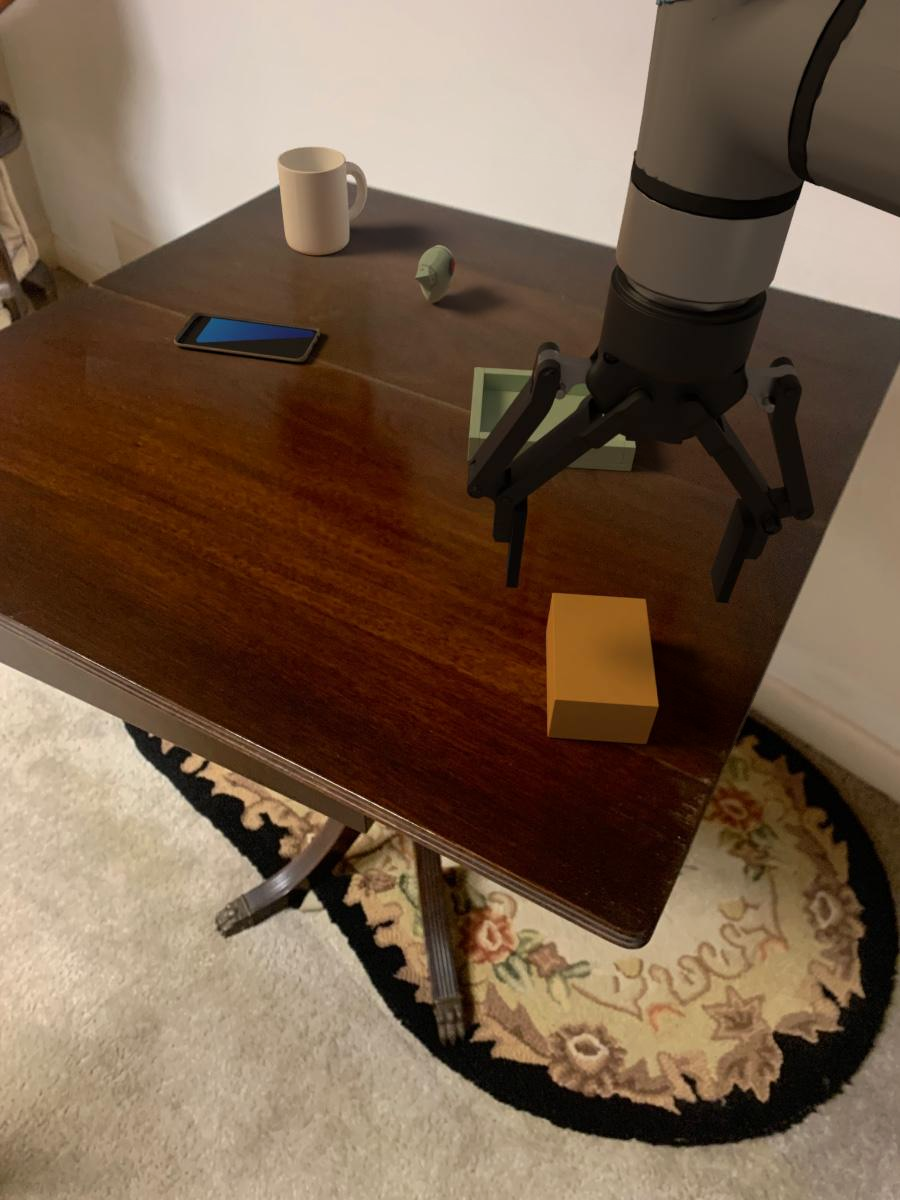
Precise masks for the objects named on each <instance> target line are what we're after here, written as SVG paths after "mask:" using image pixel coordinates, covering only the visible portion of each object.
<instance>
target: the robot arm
mask: <svg viewBox="0 0 900 1200" xmlns="http://www.w3.org/2000/svg"><path fill="white" fill-rule="evenodd" d="M655 5H656V6H657V8H656V16H655V22H654V29H653V37H652V43H651V51H650V56H649V64H648V72H647V78H646V86H645V92H644V100H643V107H642V115H641V119H640V126H639V133H638V138H637V145H636V149H635V151H633V159H632V165H631V169H630V175H629V180H628V185H627V190H626V195H625V199H624V200H625V201H624V206H623V212H622V216H621V223H620V227H619V233H618V239H617V243H616V248H615V261H616V263H617V265H616V266H615V267H614V268H613V270H612V272H611V276H610V280H609V286H608V291H607V297H606V303H605V308H604V314H603V320H602V324H601V325H602V326H601V332H600V337H599V341H598V344H597V346H596V348H595V349H594V350H593V352H592V353H591V354H590V356H589V357H585V356H584V357H583V356H576V355H571V354H565V353H561V348H560V346H559V345H558V344H557V343H555V342H553V341H546V342H542V344H540V345H539V347H538V348H537V352H536V356H535V361H534V364H533V367H532V370H531V371H532V375H531V377H530V379H529V380H528V381H527V383H526V384H525V386H524V387H523V388H522V390H521V391H520V393H519V394H518V395H517V397H516V398H515V399H514V401H513V402H512V404H511V405H510V406H509V408H508V409H507V411H506V412H505V413H504V415H503V416H502V417H501V419H500V420H499V422H498V423H497V424H496V426H495V427H494V429H493V430H492V431H491V433H490V434H489V435H488V437H487V438H486V440H485V441H484V442H483V444H482V445H481V447H480V448H479V449H478V451H477V452H476V453H475V455H474V456H473V458H472V459H471V460H470V461H468V467H467V468H468V469H467V470H468V471H467V481H466V493H467V495H468V496H469V497H470V498H472V499H482V498H484V497H485V498H488V499H489V500H491V501H492V502H493V503H494V511H493V521H492V522H493V523H492V524H493V525H492V538H493V540H494V542H495V543H504V544H505V543H507V544H508V545H507V555H506V569H505V570H506V572H505V573H506V574H505V575H506V577H505V588H507V589H509V588H510V589H518V588H519V580H520V573H521V564H522V558H523V551H524V542H525V534H526V528H527V519H528V508H529V507H528V498H529V496H530V495H532V494H533V493H535V491H537V490H538V489H539V488H541V487H542V486H544V485H545V484H546V483H547V482H549V481H551V480H552V479H553V478H555V476H557V475H558V474H560V473H561V472H562V471H564V470H565V469H566V468H569V467H568V466H569V465H570V464H572V463H573V462H574V461H576V460H577V459H578V458H580V457H581V456H582V455H584V454H585V453H586V452H588V451H589V450H590V449H592V448H595V449H599V448H601V447H602V446H604V445H605V444H606V443H608V442H609V441H610V440H612V439H613V438H614V437H616V436H617V435H618V434H621V435H623V436H625V439H626V441H635V442H636V443H637V442H640V443H641V442H647V441H654V440H655V441H658V442H661V443H665V444H670V445H683V443H684V442H683V441H686V440H689V439H692V438H694V437H695V438H696V439H697V440H698V441H699V443H700V444H701V446H702V447H703V449H704V450H705V452H706V454H707V455H708V456H709V458H710V457H711V458H713V459H714V461H715V463H716V464H717V465H718V466H719V468H720V469H721V471H722V472H723V473H724V475H725V477H726V478H727V479H728V480H729V482H730V484H731V486H733V488H734V489H735V491H736V492H737V494H738V496H739V497H740V498H738V497H736V500H735V502H734V506H733V509H732V511H731V514H730V517H729V520H728V523H727V525H726V528H725V531H724V533H723V536H722V539H721V542H720V545H719V548H718V550H717V553H716V555H715V559H714V561H713V564H712V567H711V570H710V579H711V583H712V589H713V593H714V599H715V603H721V604H722V603H723V604H728V603H729V601H730V598H731V596H732V593H733V591H734V588H735V586H736V584H737V580H738V578H739V575H740V574H741V571H742V568H743V565H744V563H745V560H754V561H756V560H757V559H759V557H760V556H761V555H762V554H763V552H764V550H765V546H766V544H767V542H768V539H769V537H770V536H774V535H777V534H779V533H780V532H781V531H782V529H783V524H782V519H787V518H792V517H793V519H795V520H796V521H800V522H801V521H802V522H803V521H806V520H808V519H810V518H811V517H813V516H814V514H815V508H814V501H813V498H812V493H811V488H810V482H809V479H808V473H807V469H806V463H805V459H804V455H803V449H802V445H801V440H800V435H799V430H798V426H797V420H796V418H797V413H798V409H799V405H800V401H801V398H802V397H801V396H802V393H803V387H802V385H801V382H800V379H799V377H798V374H797V371H796V367H795V366H794V362H793V360H792V359H791V358H790V357H788V356H780V357H777V358H775V359H773V361H771V363H770V365H769V367H746V364H747V362H748V359H749V357H750V353H751V350H752V347H753V344H754V341H755V337H756V334H757V331H758V329H759V325H760V322H761V319H762V315H763V313H764V309H765V306H766V303H767V298H768V297H767V296H768V295H767V291H766V290H768V289H769V287H770V286H771V284H772V283H773V282H774V280H775V278H776V274H777V271H778V268H779V263H780V261H781V258H782V255H783V251H784V247H785V244H786V241H787V238H788V235H789V231H790V227H791V225H792V221H793V218H794V214H795V211H796V207H797V205H798V201H799V199H800V197H801V193H802V190H803V186H804V184H805V182H806V183H809V184H811V185H814V186H815V187H822V188H824V189H827V190H829V191H832V192H834V193H837V194H839V195H842V196H845V197H846V198H850V199H852V200H854V201H857V202H859V203H862V204H865V205H867V206H868V207H869V206H870V207H872V208H875V209H877V210H879V211H882V212H884V213H887V214H889V215H892V216H894V217H897V218H900V0H656V1H655ZM580 383H584V384H586V386H587V389H588V391H589V392H590V394H589V395H588V396H586V397H585V398H584V399H583V400H582V401H581V402H580V404H579V406H578V408H577V409H576V410H575V411H574V412H573V413H572V414H570V415H569V416H568V417H567V418H565V419H564V420H563V421H562V422H560V423H559V424H558V425H557V426H555V427H554V428H553V429H551V430H550V431H549V432H548V433H546V434H545V435H544V436H543V437H541V438H540V439H539V440H538V441H536V442H535V443H534V444H533V445H531V446H530V447H529V448H527V449H526V450H525V451H524V452H522V453H521V454H520V455H519V456H517V457H516V458H515V456H516V455H517V454H518V452H519V451H520V450H521V448H522V447H523V446H524V445H525V443H526V442H527V441H528V439H529V438H530V437H531V435H532V434H533V433H534V432H535V430H536V429H537V428H538V426H539V425H540V424H541V422H542V421H543V420H544V419H545V417H546V416H547V414H548V413H549V411H550V409H551V407H552V405H553V403H554V400H555V398H556V399H563V398H564V397H565V395H566V394H568V393H569V391H570V390H571V388H572V387H573V386H574V385H576V384H580ZM746 395H750V396H752V397H753V398H754V402H755V406H756V407H757V408H758V409H759V410H761V411H764V412H765V413H766V415H767V419H768V424H769V428H770V432H771V436H772V440H773V441H772V442H773V445H774V450H775V453H776V459H777V462H778V467H779V471H780V475H781V479H782V483H783V486H780V487H775V488H772V487H771V485H770V483H769V482H768V481H767V479H766V477H765V476H764V475H763V473H762V472H761V470H760V469H759V467H758V466H757V464H756V462H755V461H754V459H753V457H752V456H751V455H750V453H749V452H748V450H747V449H746V447H745V446H744V444H743V443H742V441H741V440H740V438H739V436H738V435H737V434H736V432H735V431H734V429H733V428H732V426H731V424H730V423H729V422H728V420H727V418H726V416H725V414H726V413H727V412H728V411H729V410H731V409H733V408H734V406H736V405H737V404H739V402H741V401H742V400H743V399H744V397H745V396H746ZM603 414H604V416H603ZM514 458H515V459H514ZM513 459H514V460H513Z"/></svg>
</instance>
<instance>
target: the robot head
mask: <svg viewBox="0 0 900 1200" xmlns="http://www.w3.org/2000/svg"><path fill="white" fill-rule="evenodd" d="M455 269H456V260H455V257H454V255H453V252H452V251H451V250H450V249H449V248H448V247H446V246H444V245H440V244H437V245H434V246H432V247H430V248H429V249H427V250H425V252H424V253H423V254H422V256H421V257H420V259H419V262H418V266H417V271H416V274H415V276H414V279H415V280H416V281H417V282H418V283H419V287H420V290H421V292H422V295H423V297H424V298H425V300H426V301H427V302H430V303H433V304H435V303H437V302H438V301H440V300H441V299H442V298H443V297H445V295H446V294H447V293H448V290H449V289H450V287H451V284H452V282H453V280H454V273H455Z"/></svg>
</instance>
